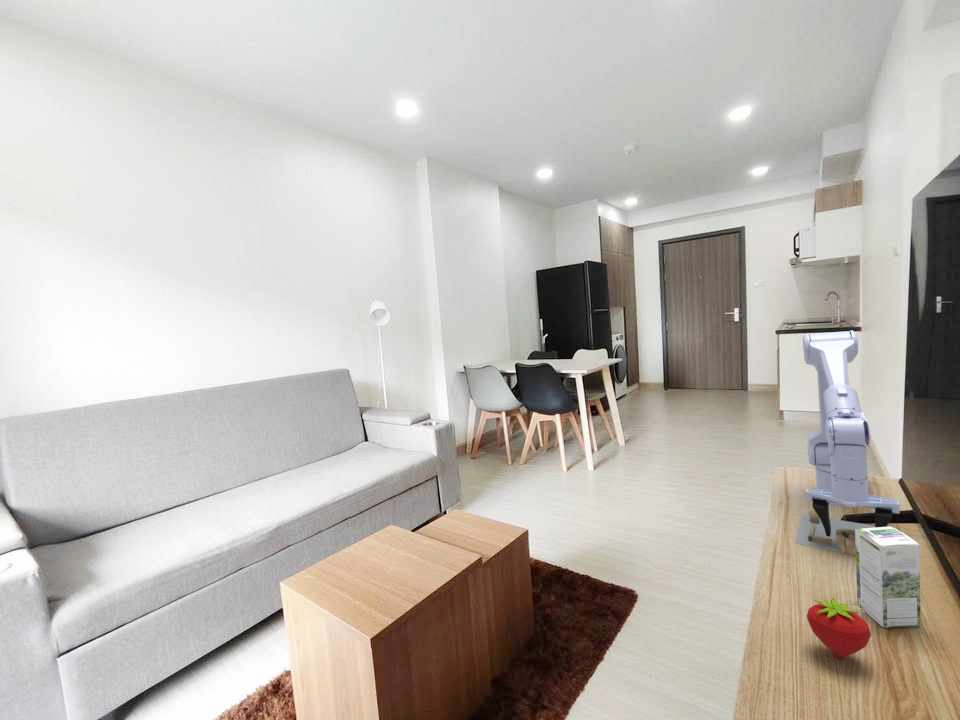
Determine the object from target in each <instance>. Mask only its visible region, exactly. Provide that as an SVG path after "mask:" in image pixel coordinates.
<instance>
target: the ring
mask: <svg viewBox="0 0 960 720" xmlns="http://www.w3.org/2000/svg"><path fill="white" fill-rule="evenodd" d="M848 530H851V531H855V530H853V529H839V530H836V547H837V549H839V550H841V551H842V552H844V553H843V554H845V555H846V554H847V555H852V556H856V545H855V539H851V538H847V537H846V531H848Z"/></svg>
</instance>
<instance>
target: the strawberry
mask: <svg viewBox="0 0 960 720" xmlns="http://www.w3.org/2000/svg"><path fill="white" fill-rule="evenodd" d="M814 602H816V603H817V604H813V605H812V606H810V607H809V608H808V610H807V614H806V619H807V622H808V624H809V627H810V629H811V631H812V632H813V634H814V635H815V636H816V637H817V638H818V639H819V640H820V642H821V643H822V644H823V645H824V646H825V647H826V648H827V649H828V650H829V651H830V652H831V653H832V655H834V656H835V657H837V658H840V659H845V658H847V657H848V656H850V655H854V654H856V653H858V652H860V651H861V650H863V649H864V648H866V647H867V645H868V643H869V640H870V638H871V637H872V633H871V629H870V626H869V625H868V623H867V622H866V621H865V620H864V619H863V618H862V617H861V616H860V615H858V614H860V612H859V611H856V610H852V609H850V608H848V606H849V604H839V603H838V602H837V599H836V598H835V597H832V599H831V600H830V601H828V600H826V599H824V600H823V601H822V600H817V599H814Z"/></svg>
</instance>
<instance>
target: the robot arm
mask: <svg viewBox="0 0 960 720" xmlns="http://www.w3.org/2000/svg"><path fill="white" fill-rule="evenodd" d="M802 347H803V349H802V350H803V360H804V363H805V364H806V365H810V366H813V367H814V368H815V370H816V372H817V389H818V405H819V406H818V407H819V408H818V409H819V423H820V428H818V429H816V430H815V431H813V432H811V433H810V434H809V435H808V436H807V456H808V457H807V458H808V463H809V464H810V465H811V466H812V467H814V468H815V479H816V480H815V482H816V485H815V486H816V488H809V487H808V488H807V487H806V490H805V500H806V501H809V502H812V504H811V505H812V509H813V511H815V512H816V513H817V515H818V516H819V518H820V520H821V522H822V524H823V526H824V529H825V533H826V536H829V537H830V535H831V526H830V519H831V518H830V506H829V505H836V506H844V507H849V508H850V507H851V508H857V507H860V508H868V509H873V510H874V523H875V524H874V526H875V528H876V527H888V525H889V524H890V522H891V520H892V519H893V514H900V500H897V499H892V498H888V497H887V498H886V497H882V496H878V495H875V494H869V478H868V477H869V475H868V455H867V454H868V453H867V451H868V450H867V447H869V446H870V443H871V429H870V425H869V422H868V419H867V417H866V415H865V412H862V407H861V403H860V399H859V394H858V391H857V390H856V389H855V388H853V386H852V387H851V386H850V383H849V382H850V381H849V372H848V371H849V369H848V368H849V367H848V364H850V363H853V361H854V360H855V359H856V357H857V355H858V353H859V339H858V335H857V333H856V332H855V331H854V330H850V329H849V331H846V330H845V331H835V332H821V333H820V332H819V333H818V332H817V333H805V334H804V335H803V337H802ZM829 518H830V519H829Z"/></svg>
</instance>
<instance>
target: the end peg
mask: <svg viewBox="0 0 960 720" xmlns="http://www.w3.org/2000/svg"><path fill="white" fill-rule="evenodd" d="M846 537H847V538H851V539H855V531H851V530H848V531H846Z"/></svg>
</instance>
